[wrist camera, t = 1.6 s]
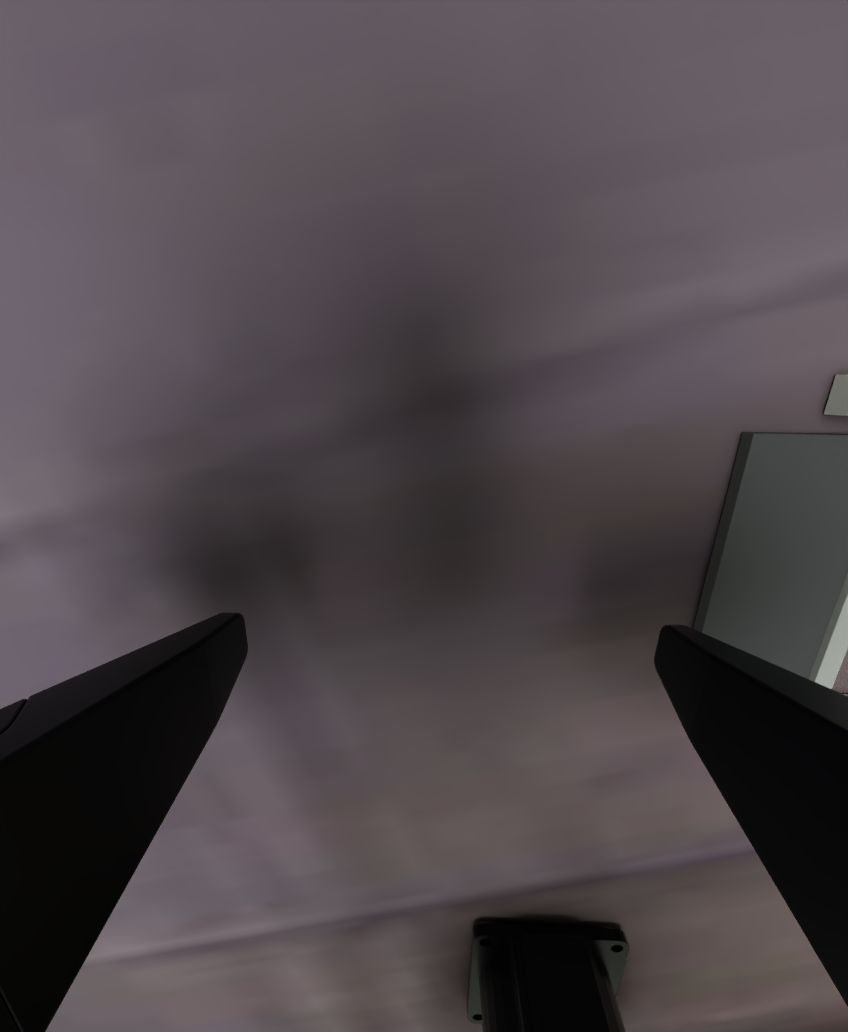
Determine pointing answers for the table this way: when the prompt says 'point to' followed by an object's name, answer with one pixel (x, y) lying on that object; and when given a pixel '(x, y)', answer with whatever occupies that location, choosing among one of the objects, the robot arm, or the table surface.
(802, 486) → the pad
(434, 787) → the table surface
